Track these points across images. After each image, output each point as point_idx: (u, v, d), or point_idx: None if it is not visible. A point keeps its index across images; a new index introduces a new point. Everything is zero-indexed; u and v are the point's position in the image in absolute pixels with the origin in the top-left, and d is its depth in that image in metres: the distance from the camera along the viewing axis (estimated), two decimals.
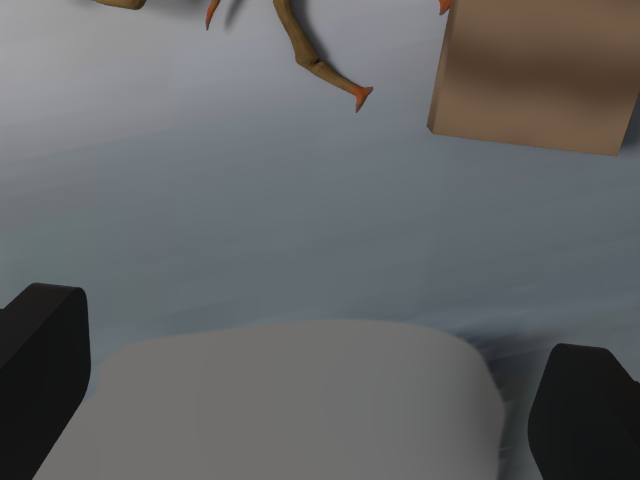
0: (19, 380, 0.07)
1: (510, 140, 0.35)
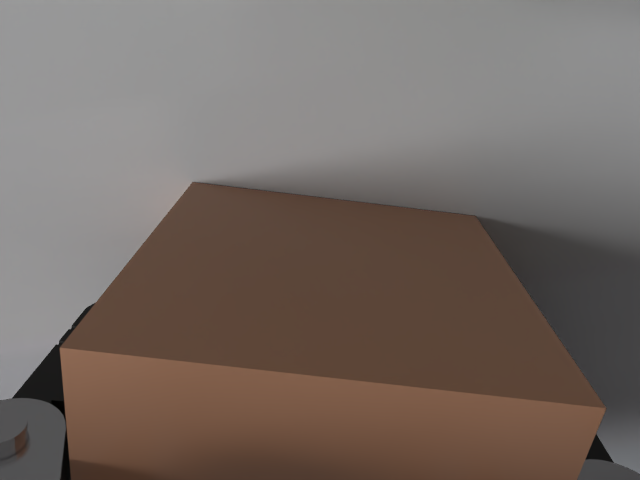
0: None
1: None
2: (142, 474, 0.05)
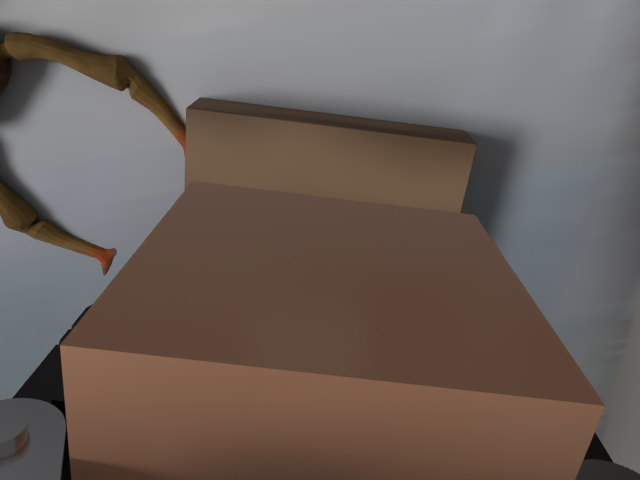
0: None
1: None
2: (142, 471, 0.05)
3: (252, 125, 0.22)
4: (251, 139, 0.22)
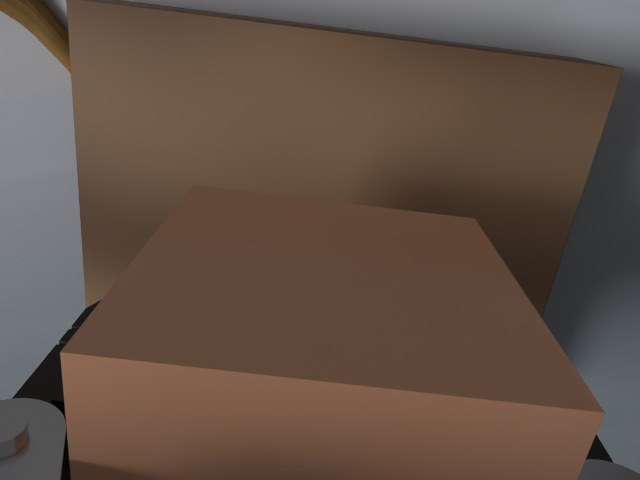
0: None
1: None
2: (141, 477, 0.05)
3: (194, 32, 0.12)
4: (194, 60, 0.12)
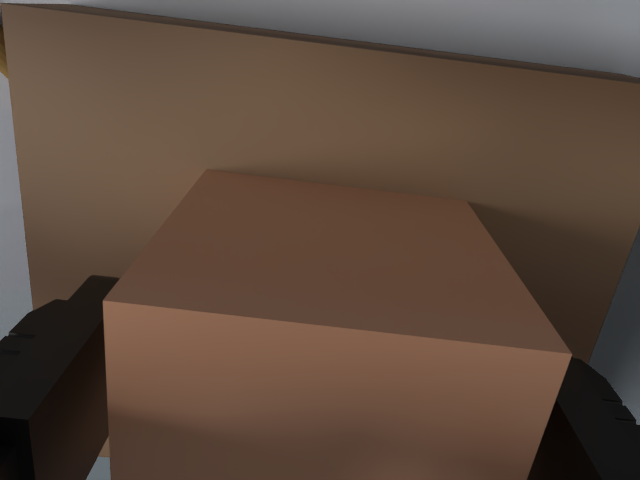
0: (89, 365, 0.08)
1: None
2: (170, 415, 0.06)
3: (161, 45, 0.09)
4: (161, 79, 0.10)
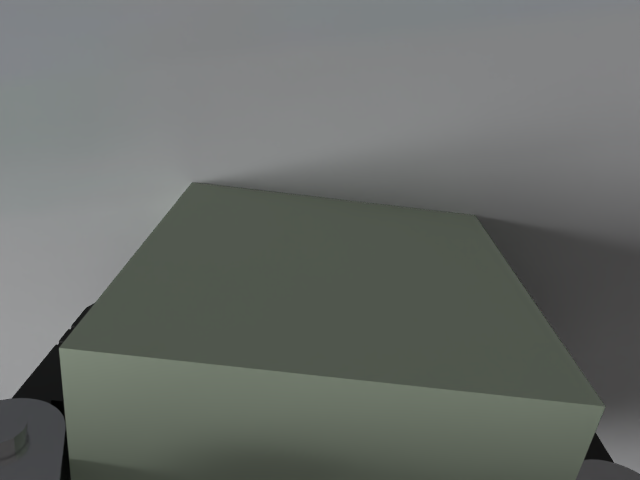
0: None
1: None
2: None
3: None
4: None
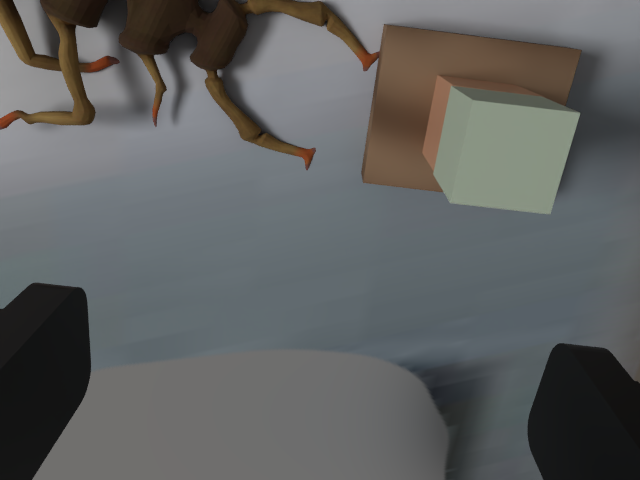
0: (18, 380, 0.07)
1: (436, 188, 0.37)
2: None
3: (430, 37, 0.33)
4: (428, 47, 0.33)
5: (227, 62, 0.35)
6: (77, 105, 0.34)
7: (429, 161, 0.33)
